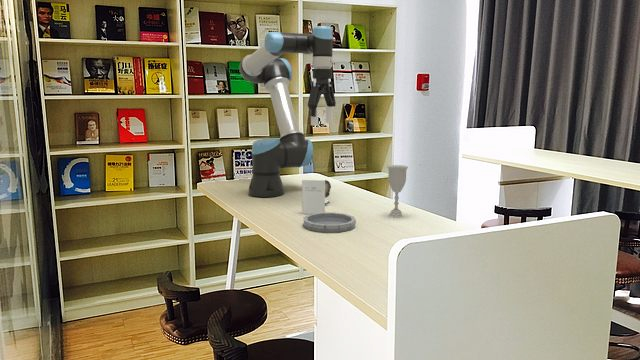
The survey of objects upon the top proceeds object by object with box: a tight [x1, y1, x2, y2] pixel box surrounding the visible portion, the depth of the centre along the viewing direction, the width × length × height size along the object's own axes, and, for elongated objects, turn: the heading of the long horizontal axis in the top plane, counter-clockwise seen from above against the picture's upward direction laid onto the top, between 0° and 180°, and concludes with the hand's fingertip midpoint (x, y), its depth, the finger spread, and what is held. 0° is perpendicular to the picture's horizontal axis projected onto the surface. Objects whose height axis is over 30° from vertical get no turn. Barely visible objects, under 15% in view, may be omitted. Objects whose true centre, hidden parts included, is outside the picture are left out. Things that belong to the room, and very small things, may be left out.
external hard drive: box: [301, 178, 326, 215], centre depth 191 cm, size 2×8×12 cm, turn 83°
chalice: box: [387, 164, 409, 219], centre depth 187 cm, size 7×7×18 cm
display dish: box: [302, 212, 357, 234], centre depth 176 cm, size 17×17×2 cm
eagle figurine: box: [324, 179, 332, 205], centre depth 207 cm, size 8×7×9 cm
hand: (322, 124), depth 207 cm, fingers open, 13 cm apart
